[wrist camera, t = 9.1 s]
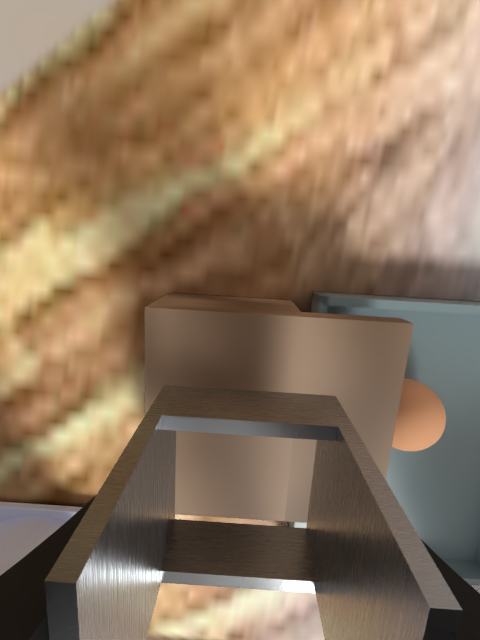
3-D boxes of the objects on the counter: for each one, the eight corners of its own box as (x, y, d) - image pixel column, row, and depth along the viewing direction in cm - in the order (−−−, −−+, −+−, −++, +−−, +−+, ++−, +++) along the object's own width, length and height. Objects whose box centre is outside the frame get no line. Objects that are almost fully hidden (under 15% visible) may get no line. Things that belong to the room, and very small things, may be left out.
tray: (285, 546, 19) (289, 572, 18) (312, 291, 16) (319, 296, 14) (474, 558, 19) (494, 586, 18) (540, 305, 16) (572, 311, 14)
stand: (167, 455, 18) (145, 512, 14) (169, 292, 16) (144, 307, 12) (349, 466, 18) (377, 527, 14) (373, 305, 16) (413, 323, 12)
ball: (396, 422, 17) (348, 432, 16) (406, 365, 17) (357, 371, 16) (455, 459, 15) (401, 473, 13) (470, 391, 14) (415, 401, 13)
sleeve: (162, 528, 11) (67, 842, 5) (164, 384, 10) (44, 580, 4) (317, 538, 11) (395, 868, 5) (335, 395, 10) (461, 610, 4)
